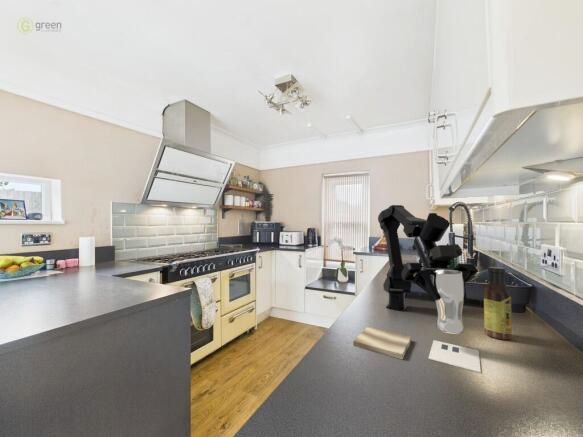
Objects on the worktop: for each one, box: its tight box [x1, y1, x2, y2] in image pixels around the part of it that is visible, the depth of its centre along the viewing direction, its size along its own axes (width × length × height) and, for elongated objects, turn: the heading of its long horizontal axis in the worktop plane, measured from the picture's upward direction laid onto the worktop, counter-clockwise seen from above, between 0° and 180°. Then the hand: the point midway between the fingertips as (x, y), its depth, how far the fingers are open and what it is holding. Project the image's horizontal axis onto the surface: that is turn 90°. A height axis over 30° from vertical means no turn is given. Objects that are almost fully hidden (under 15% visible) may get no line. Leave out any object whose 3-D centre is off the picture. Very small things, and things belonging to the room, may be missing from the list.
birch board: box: [352, 326, 412, 360], centre depth 68 cm, size 12×12×1 cm
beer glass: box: [432, 269, 465, 335], centre depth 67 cm, size 7×7×15 cm
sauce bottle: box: [483, 266, 513, 340], centre depth 75 cm, size 6×6×20 cm
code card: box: [427, 339, 482, 374], centre depth 63 cm, size 12×10×1 cm
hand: (451, 300), depth 65 cm, fingers closed on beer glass, 7 cm apart
